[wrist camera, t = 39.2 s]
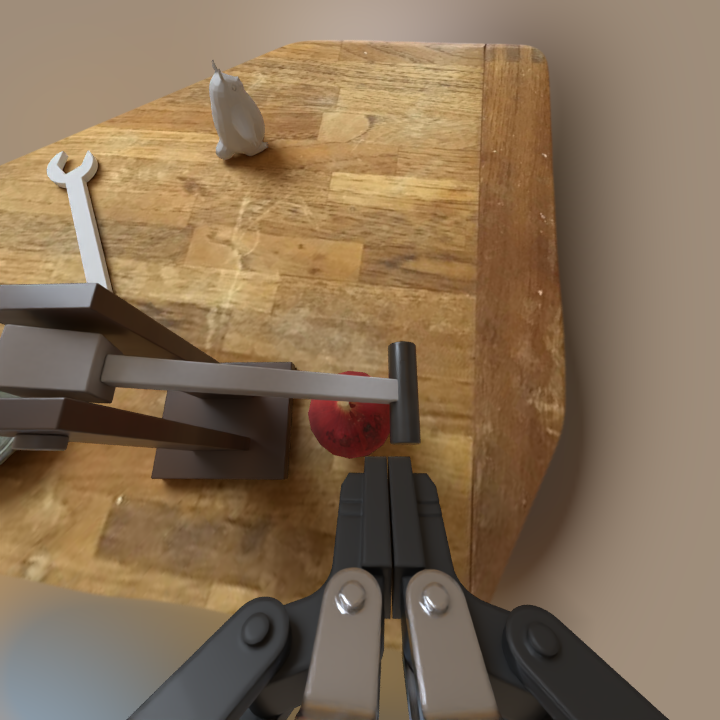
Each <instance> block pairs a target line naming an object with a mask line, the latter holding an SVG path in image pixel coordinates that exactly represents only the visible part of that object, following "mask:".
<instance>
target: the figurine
mask: <svg viewBox="0 0 720 720" xmlns="http://www.w3.org/2000/svg"><path fill="white" fill-rule="evenodd" d="M212 66H213V68H214V70H215V74H214V75H213V77H212V79H211V81H210V87H209V91H210V99H211V109H212V116H213V121H214V125H215V128H216V130H217V133H218V135H219V138H220V140H219V142H218V145H217V147H216V154H217V156H218V157H219V158H221V159H224V160H226V159H229V158H231V157H232V156H233V154H234V153H244V154H246V155H248V156H253V155H255V154H257V153H259V152H261V151H263V150H264V149H265V148H268V147H267V145H268V144H267V142H262V140H263V138H264V135H265V125H264V121H263V117H262V115H261V112H260V110H259V108H258V107H257V105H256V104H255V102H254V101H253V100H252V98H251V97H250V96H249V95H248V94H247V92H246V91H245V90H244V87H243V84H242V82H241V81H240V79H239V78H238V77H237V76H236V77H234V76H230V75H227V74H225V73H222V72H221V71H220V70H219V69H217V67H216V65H215V63H214V61H213V60H212Z"/></svg>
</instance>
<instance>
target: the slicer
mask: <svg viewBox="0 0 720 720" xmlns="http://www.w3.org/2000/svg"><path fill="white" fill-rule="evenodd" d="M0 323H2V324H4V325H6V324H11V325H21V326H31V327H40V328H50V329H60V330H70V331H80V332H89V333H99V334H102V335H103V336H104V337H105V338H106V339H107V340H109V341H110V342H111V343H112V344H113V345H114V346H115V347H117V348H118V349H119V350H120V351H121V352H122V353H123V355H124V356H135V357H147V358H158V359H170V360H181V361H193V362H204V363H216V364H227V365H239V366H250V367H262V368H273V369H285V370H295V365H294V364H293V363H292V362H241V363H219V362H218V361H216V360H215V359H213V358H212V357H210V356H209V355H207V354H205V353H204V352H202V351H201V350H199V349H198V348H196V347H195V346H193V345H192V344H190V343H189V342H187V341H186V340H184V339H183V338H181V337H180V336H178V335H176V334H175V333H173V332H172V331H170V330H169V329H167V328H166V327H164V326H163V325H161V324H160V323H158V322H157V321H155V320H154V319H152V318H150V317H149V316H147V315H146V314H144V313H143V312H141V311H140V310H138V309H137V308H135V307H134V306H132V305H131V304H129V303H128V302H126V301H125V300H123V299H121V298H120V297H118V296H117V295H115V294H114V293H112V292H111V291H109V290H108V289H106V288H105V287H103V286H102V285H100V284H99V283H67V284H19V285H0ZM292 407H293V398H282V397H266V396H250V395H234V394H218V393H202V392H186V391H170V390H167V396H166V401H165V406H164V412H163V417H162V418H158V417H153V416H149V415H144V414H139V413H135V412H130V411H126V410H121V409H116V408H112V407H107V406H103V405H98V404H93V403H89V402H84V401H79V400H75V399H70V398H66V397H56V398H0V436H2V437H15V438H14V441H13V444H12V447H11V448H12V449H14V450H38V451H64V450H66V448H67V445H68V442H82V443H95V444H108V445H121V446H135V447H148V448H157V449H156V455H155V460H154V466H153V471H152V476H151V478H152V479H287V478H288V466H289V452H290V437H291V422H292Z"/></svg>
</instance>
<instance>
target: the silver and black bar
mask: <svg viewBox="0 0 720 720" xmlns="http://www.w3.org/2000/svg"><path fill="white" fill-rule="evenodd" d="M388 369H389V379H388V378H376V377H365V376H353V375H342V374H330V373H319V372H308V371H296V370H285V369H273V368H262V367H250V366H239V365H227V364H216V363H204V362H193V361H181V360H170V359H158V358H147V357H135V356H124V355H123V353H122V352H121V351H120V350H119V349H118V348H117V347H115V346H114V345H113V344H112V343H111V342H110V341H109V340H107V339H106V338H105V337H104V336H103V335H102V334H99V333H89V332H80V331H70V330H60V329H50V328H40V327H31V326H21V325H11V324H6V325H5V327H4V330H3V332H2V335H1V338H0V391H2V392H5V393H9V394H12V395H15V396H19V397H22V398H56V397H66V398H70V399H75V400H79V401H84V402H91V403H112V400H113V396H114V391H115V387H122V388H138V389H154V390H170V391H186V392H202V393H218V394H234V395H250V396H266V397H282V398H298V399H314V400H330V401H346V402H362V403H378V404H389V411H390V443H391V444H394V445H416V444H420V443H421V440H420V420H419V401H418V381H417V361H416V346H415V344H414V343H411V342H405V341H401V342H395V343H392V344H390V345H389V346H388Z"/></svg>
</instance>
